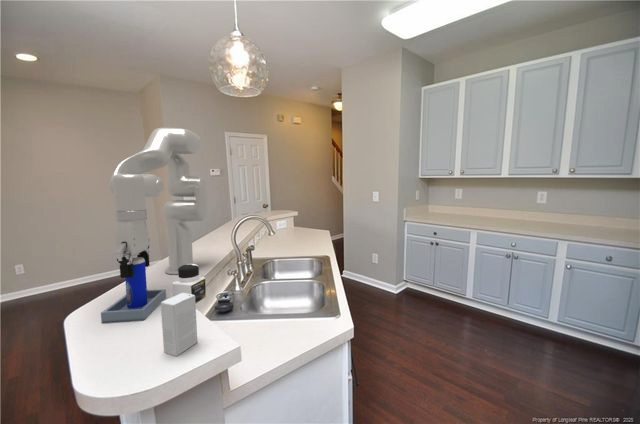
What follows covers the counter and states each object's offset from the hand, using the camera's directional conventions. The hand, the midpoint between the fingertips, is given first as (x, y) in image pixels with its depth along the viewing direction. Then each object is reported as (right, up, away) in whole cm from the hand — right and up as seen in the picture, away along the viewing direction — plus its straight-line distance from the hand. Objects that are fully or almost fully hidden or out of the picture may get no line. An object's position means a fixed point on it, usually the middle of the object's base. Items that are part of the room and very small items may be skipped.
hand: (136, 271), depth 81 cm
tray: (0, -12, 0) cm, 12 cm away
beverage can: (0, -11, +1) cm, 11 cm away
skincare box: (+24, -14, -19) cm, 33 cm away
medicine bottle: (+13, -11, +7) cm, 19 cm away
